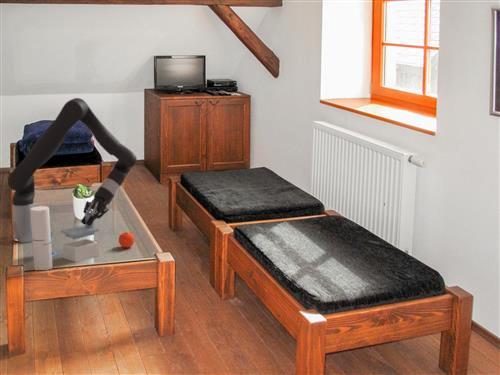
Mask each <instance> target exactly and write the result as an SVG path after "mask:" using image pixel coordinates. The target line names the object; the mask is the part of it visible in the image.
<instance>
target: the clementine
mask: <svg viewBox="0 0 500 375" xmlns="http://www.w3.org/2000/svg"><path fill="white" fill-rule="evenodd" d="M118 244H119V245H120V246H121V247H122V248H125V249H126V248H127V249H128V248H131V247H132V246H133V245H134V244H135V236H134V234H132V233H131V231H124V232H122V233H121V234H119V237H118Z"/></svg>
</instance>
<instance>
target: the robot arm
mask: <svg viewBox="0 0 500 375" xmlns="http://www.w3.org/2000/svg"><path fill="white" fill-rule="evenodd" d="M77 122H81V123H83V124H84V126H85V127H87V128H88V130H89V131H90V133H91V134H92V136H93V137H94V140H96V142H97V143H98V144H99V145H100V147H101V148H102V149H103V150H105V152H106V153H107V154H109V155H110V156H113V157H115V158H116V159H117V160H116V163H115V164H114V167H113V168H112V169H111V170H110V171H109V174H108V175H107V176H106V177H105V180H103V181H102V183H101V184H100V185H99V187H98V188H97V190H96V192H95V193H94V194H93V195H94V199H92V201H90V202H89V201H88V200H87V201H86V202H85V206H84V209H83V213H84V214H85V213H91V214H92V215H91V216H90V218H89V219H88V221H87V222H86V224H87V225H88V226H90V225H91V224H92V223H93V224H94V221H95V220H97V219H99V220H100V218H102V217H103V216H104V215H105V214H106V213H107V212H109V210H110V209H109V207H108V206H107V205H110V204H111V202H112V201H113V199H114V198H115V196H116V194H117V193H118V192H119V189H120V188H121V186H122V184H123V183H124V181H125V179H126V177H127V175H128V174H129V172H131V170H132V168H133V167H134V166H135V165H136V164H137V161H138V160H137V156H136V154H135V153H134V152H133V151H132V150H130V149H129V148H128V147H127V146H125V145H124V144H122V143H121V142H120V141H119V140H118V139H117V138H116V137H115V136H114V134H112V133H111V132H110V131H109V130H108V129H107V128H106V127H105V125H104V124H103V123H102V122H101V121H100V120H99V118H98V117H97V116H96V114H95V113H94V112H93V110H92V109H91V107H90V106H89V104H88V103H87V102H86V101H85V100H84V99H82V98H79V97H75V98H72V99H70V100H68V101H67V102H65V104H64V105H63V106H62V108H61V110H60V112H59V113H58V115H57V116H56V118H55V120H54V121H53V122H52V123H51V124H50V125H49V126H48V127H47V128H46V129H45V130H44V132H42V134H41V135H40V137H38V138H37V140H36V141H35V143H34V144H33V146H32V147H31V149H30V150H29V151H28V153H26V155H25V157H24V159H23V160H22V161H20V163H18V165H17V166H16V167H15V168H14V169H13V170H12V171H11V172H10V173H9V175H8V178H7V185H8V187H9V188H10V189H11V190H13V191H14V194H13V197H12V199H11V203H12V216H13V220H12V227H13V239H14V240H15V239H17V240H18V241H19V242H18V243H31V242H33V240H32V225H31V210H30V209H31V208H33V207H35V205H34V198H35V193H36V192H35V190H36V189H35V188H36V187H35V176H34V174H35V173H36V171H37V170H38V169H39V168H41V167H42V166H44V164H46V163H47V161H49V160H50V159H51V158H52V157H54V154H55V153H56V152H57V151H58V150H59V149H60V147H61V146H62V144H63V141H64V139H65V137H66V136H67V133H68V132H69V131H70V130H71V129H72V127H73V126H74V125H75V124H76V123H77ZM80 222H81V224H82V225H85V215H84V216H83V217H82V219H81V220H80ZM14 240H13V241H14Z"/></svg>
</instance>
